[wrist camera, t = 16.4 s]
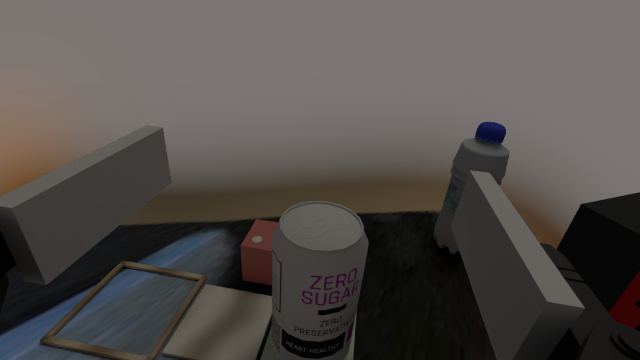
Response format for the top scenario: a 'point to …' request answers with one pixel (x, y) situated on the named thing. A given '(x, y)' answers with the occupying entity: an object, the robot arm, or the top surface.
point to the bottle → (472, 156)
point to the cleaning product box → (608, 254)
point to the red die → (258, 253)
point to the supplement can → (316, 280)
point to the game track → (196, 324)
